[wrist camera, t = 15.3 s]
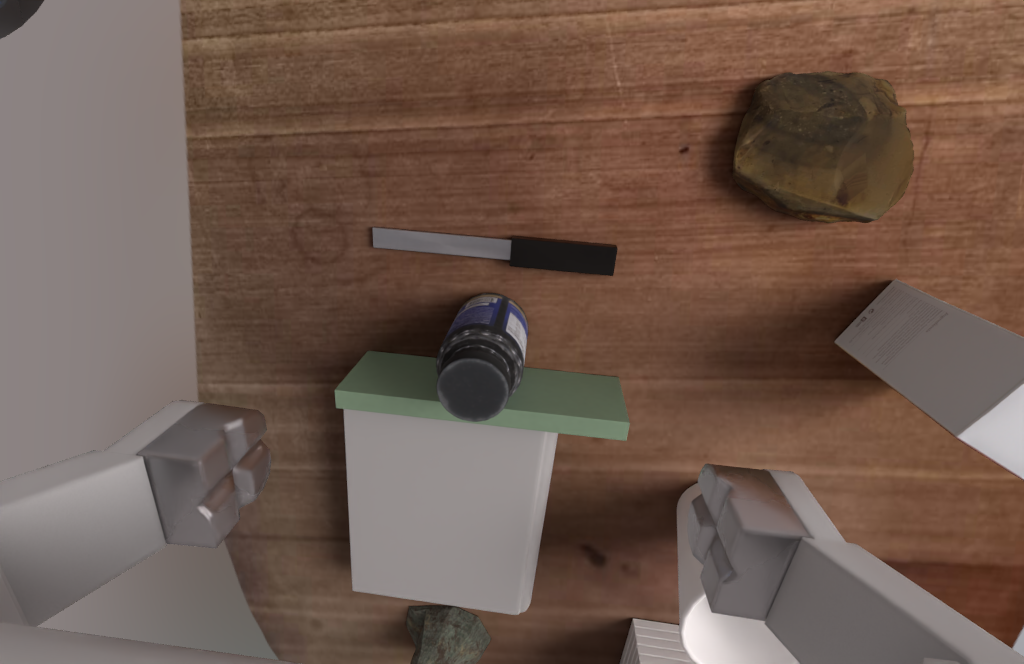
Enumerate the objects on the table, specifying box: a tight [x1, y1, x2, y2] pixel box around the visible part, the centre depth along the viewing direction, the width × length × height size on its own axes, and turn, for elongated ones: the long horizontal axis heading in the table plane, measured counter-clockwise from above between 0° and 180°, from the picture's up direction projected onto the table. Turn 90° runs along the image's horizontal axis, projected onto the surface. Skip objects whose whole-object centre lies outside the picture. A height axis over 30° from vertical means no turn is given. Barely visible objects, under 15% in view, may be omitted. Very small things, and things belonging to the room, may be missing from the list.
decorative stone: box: [732, 71, 914, 223], centre depth 32 cm, size 10×9×4 cm
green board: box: [334, 351, 630, 441], centre depth 39 cm, size 22×2×7 cm, turn 86°
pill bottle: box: [436, 293, 528, 422], centre depth 36 cm, size 6×6×11 cm
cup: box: [677, 483, 800, 664], centre depth 40 cm, size 12×12×12 cm
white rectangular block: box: [343, 409, 558, 615], centre depth 46 cm, size 18×4×24 cm
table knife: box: [373, 227, 617, 276], centre depth 38 cm, size 19×2×1 cm, turn 86°
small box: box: [834, 279, 1024, 481], centre depth 32 cm, size 8×6×13 cm
